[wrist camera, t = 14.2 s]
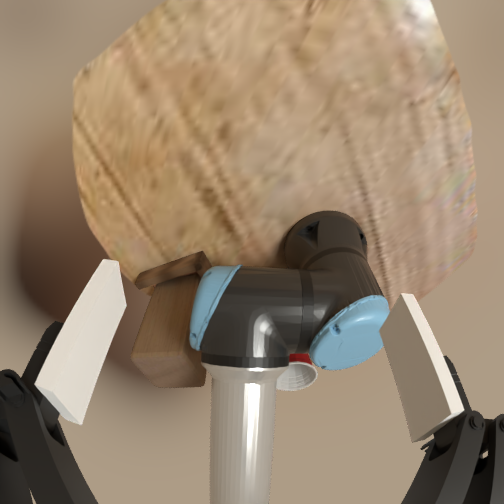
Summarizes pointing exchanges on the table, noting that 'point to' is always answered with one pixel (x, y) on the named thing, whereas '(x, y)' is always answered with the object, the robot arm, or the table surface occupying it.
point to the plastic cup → (297, 373)
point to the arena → (174, 270)
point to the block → (169, 336)
